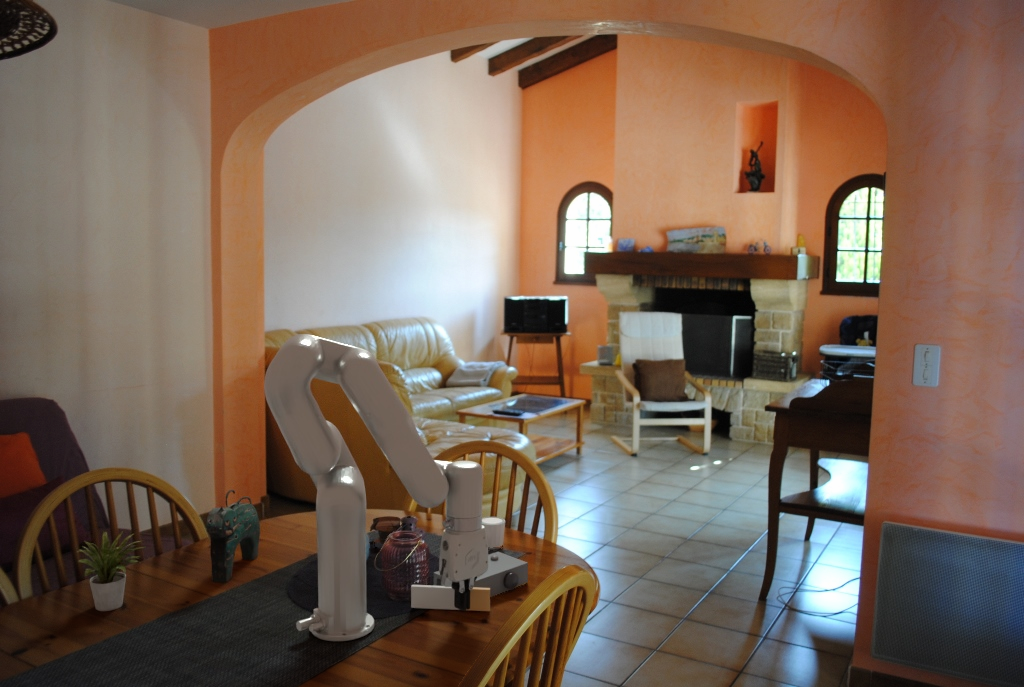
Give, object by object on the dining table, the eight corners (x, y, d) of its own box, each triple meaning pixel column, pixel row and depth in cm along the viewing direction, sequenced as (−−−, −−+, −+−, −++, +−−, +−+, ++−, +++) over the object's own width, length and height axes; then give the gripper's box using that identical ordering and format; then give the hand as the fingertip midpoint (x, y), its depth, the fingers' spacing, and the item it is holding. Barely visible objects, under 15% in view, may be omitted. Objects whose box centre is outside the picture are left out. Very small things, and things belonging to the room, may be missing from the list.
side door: (489, 611, 180) (489, 589, 180) (411, 607, 182) (411, 586, 181) (490, 609, 182) (490, 587, 181) (412, 605, 183) (412, 584, 182)
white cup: (504, 551, 218) (504, 524, 217) (477, 550, 218) (477, 524, 217) (505, 542, 224) (505, 516, 224) (479, 541, 225) (479, 515, 224)
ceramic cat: (226, 586, 193) (224, 500, 191) (200, 584, 194) (197, 498, 192) (265, 555, 213) (263, 477, 211) (241, 554, 214) (239, 476, 212)
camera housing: (465, 609, 182) (465, 584, 181) (432, 594, 190) (432, 570, 189) (531, 585, 196) (531, 561, 195) (498, 571, 204) (498, 549, 203)
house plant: (114, 626, 172) (111, 547, 171) (54, 619, 175) (51, 542, 173) (157, 598, 186) (154, 525, 185) (101, 592, 189) (98, 521, 187)
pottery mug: (362, 549, 219) (362, 518, 223) (381, 555, 227) (381, 524, 231) (403, 543, 215) (403, 511, 219) (421, 549, 223) (420, 517, 227)
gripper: (447, 534, 167) (446, 624, 169) (502, 519, 177) (500, 604, 179) (423, 525, 172) (422, 612, 174) (478, 510, 183) (476, 593, 185)
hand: (462, 607), depth 177 cm, fingers closed
